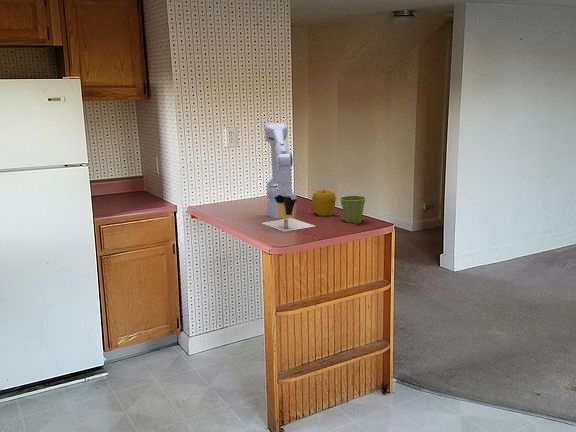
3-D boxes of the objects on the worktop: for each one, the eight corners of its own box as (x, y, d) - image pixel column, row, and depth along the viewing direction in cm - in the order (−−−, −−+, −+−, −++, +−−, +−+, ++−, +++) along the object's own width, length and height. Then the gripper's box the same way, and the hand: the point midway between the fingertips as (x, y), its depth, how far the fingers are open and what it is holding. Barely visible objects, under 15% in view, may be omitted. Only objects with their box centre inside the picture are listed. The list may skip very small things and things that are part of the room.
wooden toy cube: (277, 216, 245) (277, 202, 244) (287, 215, 248) (287, 201, 247) (283, 218, 241) (283, 204, 240) (294, 217, 244) (293, 203, 242)
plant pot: (349, 218, 264) (348, 194, 262) (371, 221, 257) (371, 197, 255) (334, 223, 256) (334, 198, 253) (356, 227, 248) (356, 201, 246)
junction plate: (261, 225, 256) (260, 215, 255) (291, 220, 264) (291, 210, 263) (284, 233, 240) (283, 223, 239) (316, 228, 248) (315, 218, 247)
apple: (307, 217, 270) (307, 190, 267) (323, 213, 277) (322, 186, 275) (325, 220, 262) (325, 192, 260) (340, 216, 270) (340, 189, 267)
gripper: (268, 181, 245) (269, 212, 248) (285, 185, 233) (286, 217, 236) (282, 179, 249) (283, 210, 252) (300, 183, 237) (301, 215, 240)
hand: (285, 213), depth 244 cm, fingers closed on wooden toy cube, 5 cm apart
